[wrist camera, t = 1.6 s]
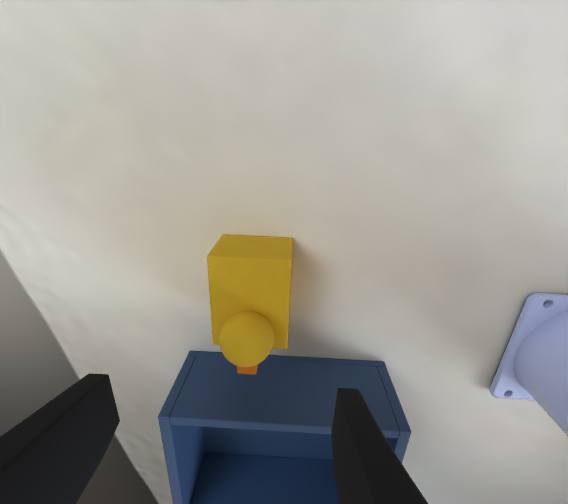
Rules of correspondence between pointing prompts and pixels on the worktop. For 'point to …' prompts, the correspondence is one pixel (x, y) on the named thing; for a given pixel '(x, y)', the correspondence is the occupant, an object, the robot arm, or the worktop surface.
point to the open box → (266, 427)
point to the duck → (250, 297)
